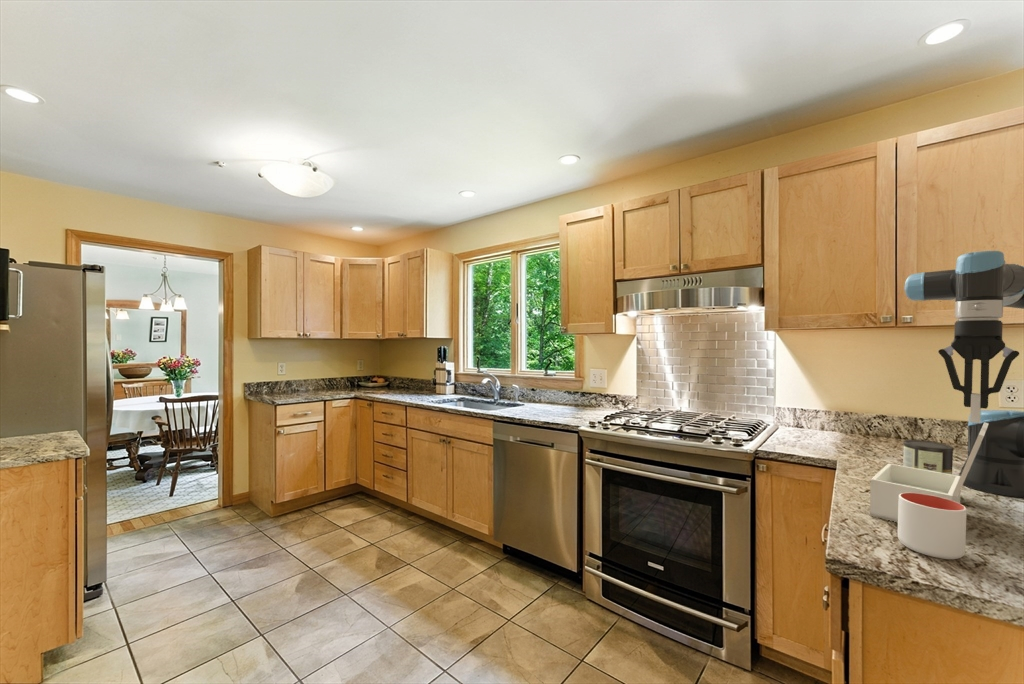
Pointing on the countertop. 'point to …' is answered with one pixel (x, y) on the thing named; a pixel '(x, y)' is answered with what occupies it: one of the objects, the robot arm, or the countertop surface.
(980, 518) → the countertop surface
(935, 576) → the countertop surface
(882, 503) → the box
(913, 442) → the coffee can
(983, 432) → the lid
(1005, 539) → the countertop surface
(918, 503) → the cup
